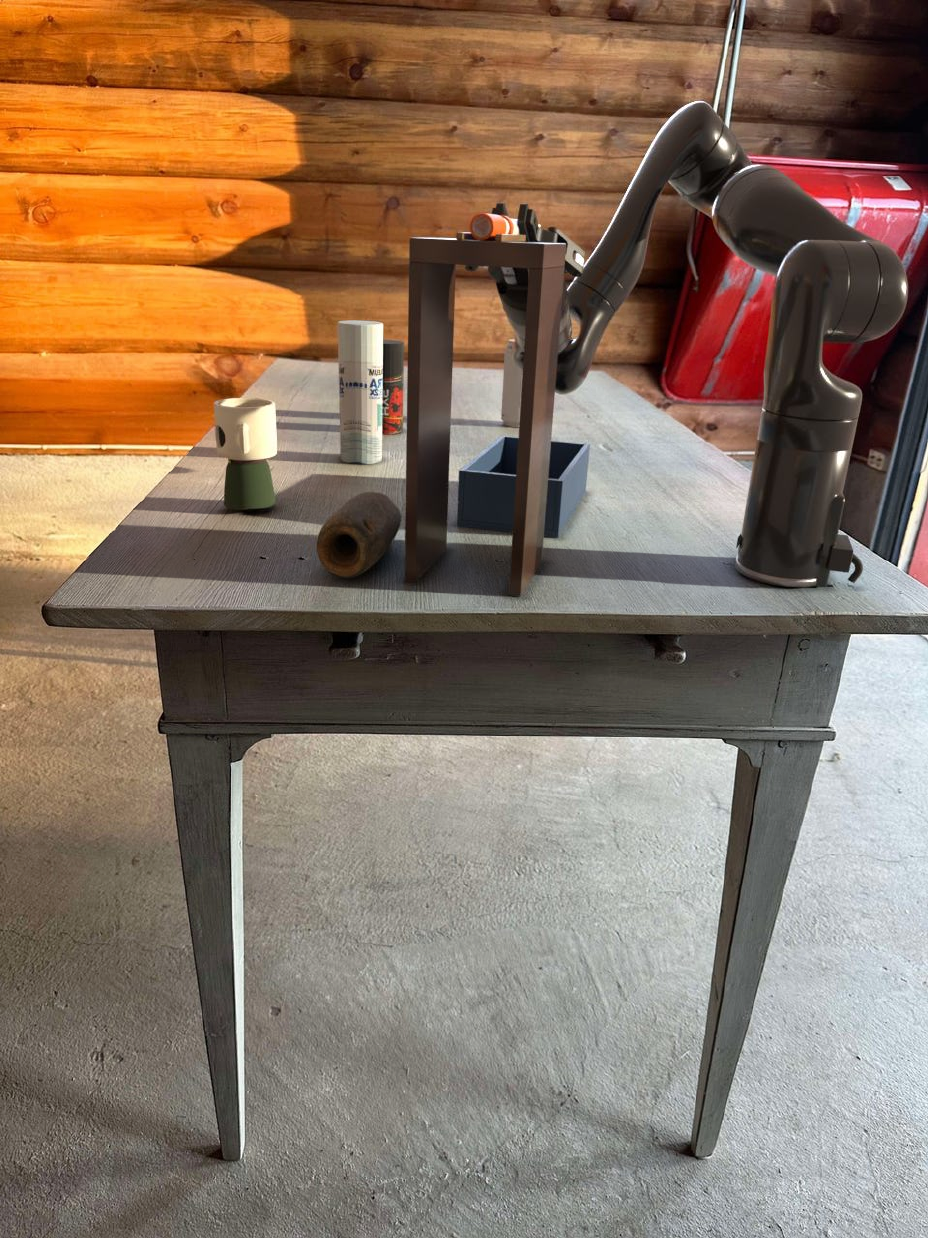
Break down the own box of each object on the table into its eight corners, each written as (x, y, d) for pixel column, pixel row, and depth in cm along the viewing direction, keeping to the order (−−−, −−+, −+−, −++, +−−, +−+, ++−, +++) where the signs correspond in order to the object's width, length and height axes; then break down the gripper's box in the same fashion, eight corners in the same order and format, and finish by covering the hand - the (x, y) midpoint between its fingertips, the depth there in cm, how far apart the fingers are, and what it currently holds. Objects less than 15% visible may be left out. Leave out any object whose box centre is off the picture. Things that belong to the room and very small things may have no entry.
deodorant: (372, 434, 156) (372, 343, 150) (366, 427, 161) (365, 339, 155) (406, 433, 158) (407, 343, 152) (398, 426, 163) (399, 339, 157)
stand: (541, 561, 99) (566, 236, 86) (520, 597, 89) (545, 235, 76) (436, 548, 102) (445, 231, 89) (404, 581, 92) (409, 229, 79)
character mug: (223, 496, 117) (216, 394, 112) (280, 496, 118) (275, 394, 113) (217, 521, 107) (209, 410, 102) (278, 521, 109) (274, 411, 104)
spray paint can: (345, 453, 142) (344, 319, 134) (386, 456, 142) (387, 321, 134) (334, 462, 136) (332, 323, 129) (377, 465, 136) (377, 325, 128)
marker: (493, 240, 79) (494, 213, 79) (469, 239, 80) (469, 212, 79) (532, 241, 95) (534, 218, 94) (512, 240, 95) (513, 217, 95)
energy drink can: (515, 420, 173) (520, 338, 167) (539, 425, 169) (545, 341, 163) (494, 423, 169) (498, 339, 163) (518, 429, 165) (524, 343, 159)
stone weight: (383, 587, 90) (384, 522, 87) (313, 583, 90) (312, 518, 88) (403, 540, 104) (404, 482, 101) (342, 536, 104) (342, 479, 102)
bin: (585, 492, 126) (590, 443, 124) (558, 537, 107) (562, 481, 104) (498, 483, 129) (501, 435, 127) (456, 525, 110) (458, 470, 107)
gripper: (482, 264, 107) (449, 173, 90) (599, 270, 104) (586, 177, 87) (472, 324, 106) (436, 244, 90) (589, 332, 103) (574, 250, 86)
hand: (510, 211), depth 88 cm, fingers closed on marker, 1 cm apart
